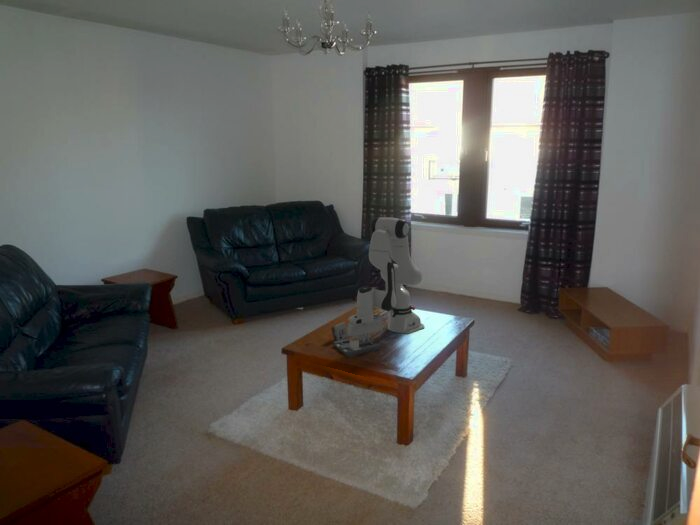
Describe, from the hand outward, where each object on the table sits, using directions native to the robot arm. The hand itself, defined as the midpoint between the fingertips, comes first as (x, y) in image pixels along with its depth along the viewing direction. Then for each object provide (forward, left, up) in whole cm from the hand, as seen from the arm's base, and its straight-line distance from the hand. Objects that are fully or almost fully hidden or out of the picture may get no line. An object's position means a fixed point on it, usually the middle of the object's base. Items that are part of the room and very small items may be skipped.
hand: (365, 341), depth 277 cm
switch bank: (+3, -4, -5) cm, 7 cm away
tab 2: (-1, -8, -3) cm, 8 cm away
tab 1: (+7, 0, -3) cm, 8 cm away
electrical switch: (+6, -19, -5) cm, 20 cm away
